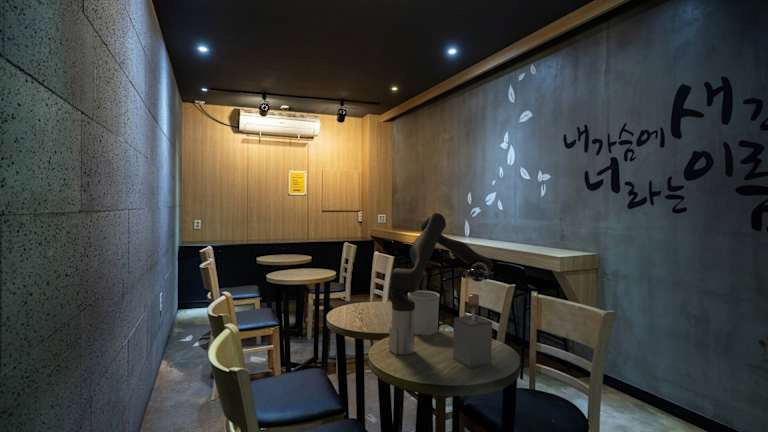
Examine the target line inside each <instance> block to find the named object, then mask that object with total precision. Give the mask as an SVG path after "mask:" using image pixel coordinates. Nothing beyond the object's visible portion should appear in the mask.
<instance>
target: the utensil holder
mask: <svg viewBox="0 0 768 432" xmlns="http://www.w3.org/2000/svg"><path fill="white" fill-rule="evenodd" d="M407 298H409V299H411V300H413V301H414V302H415V328H414V333H416V334H415V335H417V334H422V335H421V336H431V335H432V334H433V335H436V333H438V330H439V329H438V328H439V308H440V307H439V305H440V304H439V303H440V298H441V297H440V294H439V293H438V292H436V291H430V290H416V291H415V292H412V293H409V292H407ZM433 335H432V336H433Z"/></svg>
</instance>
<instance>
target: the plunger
mask: <svg viewBox="0 0 768 432" xmlns="http://www.w3.org/2000/svg"><path fill="white" fill-rule="evenodd" d="M467 296H468V297H467V306H468V307H471V315H472V316H471V315H470V316H471V320H472V321H474V320H475V315H476V313H475V312H476V308H478V307H479V305H480V295H479V294H476V293H470V294H468V295H467Z"/></svg>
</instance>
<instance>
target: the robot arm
mask: <svg viewBox="0 0 768 432" xmlns="http://www.w3.org/2000/svg"><path fill="white" fill-rule="evenodd" d="M446 225H447V221H446V218H445V216H444V215H443V214H441V213H438V212H435V213H431V214H430V215H429V216H428V217H427V218H426V219H425V220H424V221H423V222H422V223H421V225H420V229H421V231H422V232H421V233H420V234H419V235H418V236H417V238H416V239H415V241H414V242H413V243H412V246H411V247H410V250H409V256H410V260H411V261H412V263H413V266H414V267H413V268H399V267H397V268H394V269H393V270H392V273H391V276H390V277H391V278H390V289H391V291H390V293H391V295H390V296H391V297H390V298H391V326H389V330H388V331H389V334H388V335H389V337H388V338H389V339H388V343H389V344H388V350H389V351H390V352H391V353H393V354H394V355H396V356H397V355H398V356H399V355H402V356H407V355H412V354H413V353H415V334H414V328H415V302H414V301H413V300H411V299H409V298H408V296H406V295H405V294H404V293H412V292H415V291H418V290H419V286H420V284H421V281H422V278H423V275H424V272H425V270H426V266H427V264H428V263H429V261H430V259H431V257H432V254H433V252H434V250H435V248H436V245H437V244H439V245H440V246H441V247H443V248H446V249H448V250H449V251H450V252H452V253H453V254H454V255H456V256H457V257H458V258H459V259H460V260H462V262H464V263H465V264H466V265H470V264H472V263H474V262H475V261H477V262H476V263H474V264H472V266H471V267H469V269H467V270H465V269H460V270H459V271H458V277H459V278H462V279H471V280H472V281H473V282H478V283H479V282H483V281H486V280H487V281H488V280H489V279H490V281H491V280H494V271H491V270H492V269H493V267H494V262H493V261H492V260H491V259H490V258H488V257H487V256H485V255H483V254H482V255H481V254H479V253H478V252H476V251H475V250H474V249H472V248H471V247H470V246H469V245H468V244H466V243H464V242H462V241H460V240H457V239H453V238H450V237H447V236H445V235H443V234H442V233H443V231H444V230H445V228H446Z"/></svg>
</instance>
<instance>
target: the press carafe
mask: <svg viewBox="0 0 768 432" xmlns="http://www.w3.org/2000/svg"><path fill="white" fill-rule="evenodd" d="M471 316H472V314H471V315H463V316H457V317H454V318H453V322H454V324H453V351H452V352H453V353H452V354H453V360H455V361H456V362H458V363H460V364H461V365H463V366H465V367H467V368H468V369H471V368H472V369H473V368H478V367H482V366H488V365H492V350H493V347H492V346H493V343H492V341H493V340H492V339H493V321H492V320H489V319H487V318H484V317H481V316H479V315H476V314H475V320H474V321H472V320H471Z"/></svg>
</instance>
